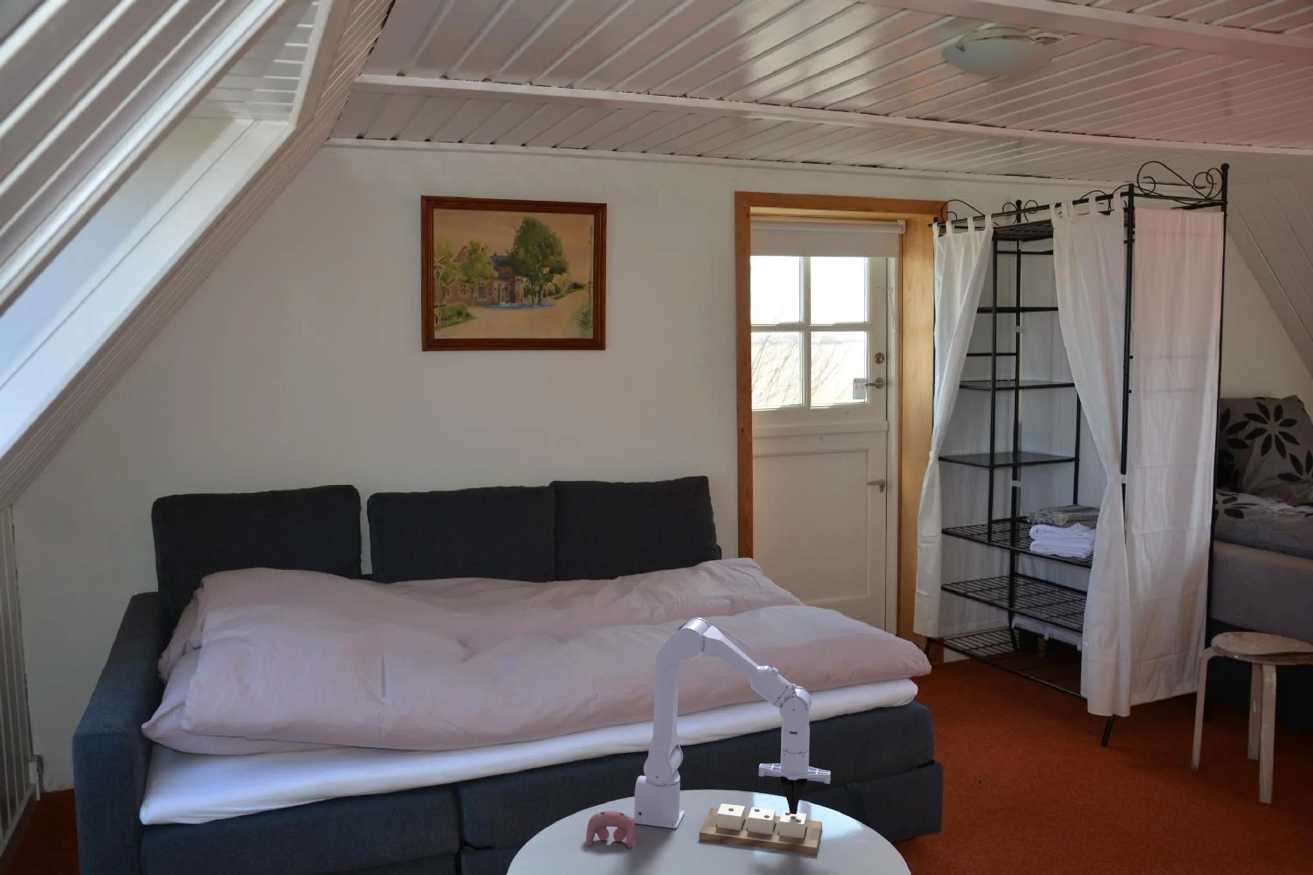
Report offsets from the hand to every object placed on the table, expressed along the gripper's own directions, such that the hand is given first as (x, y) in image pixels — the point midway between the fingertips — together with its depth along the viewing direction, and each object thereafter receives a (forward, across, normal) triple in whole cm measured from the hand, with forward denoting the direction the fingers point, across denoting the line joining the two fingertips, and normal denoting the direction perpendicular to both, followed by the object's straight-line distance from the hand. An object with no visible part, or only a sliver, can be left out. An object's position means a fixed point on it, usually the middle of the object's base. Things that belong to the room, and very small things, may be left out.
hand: (793, 811), depth 219 cm
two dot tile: (+4, -7, 0) cm, 8 cm away
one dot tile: (+4, -13, 0) cm, 14 cm away
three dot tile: (+4, 0, 0) cm, 4 cm away
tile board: (+6, -7, 0) cm, 9 cm away
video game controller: (+6, -36, -12) cm, 38 cm away
